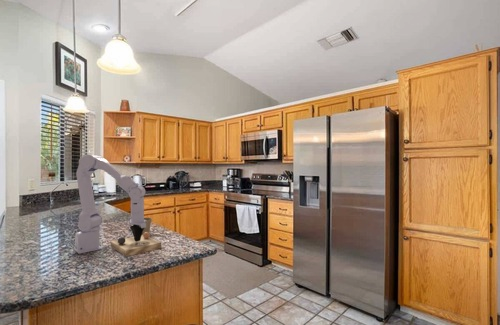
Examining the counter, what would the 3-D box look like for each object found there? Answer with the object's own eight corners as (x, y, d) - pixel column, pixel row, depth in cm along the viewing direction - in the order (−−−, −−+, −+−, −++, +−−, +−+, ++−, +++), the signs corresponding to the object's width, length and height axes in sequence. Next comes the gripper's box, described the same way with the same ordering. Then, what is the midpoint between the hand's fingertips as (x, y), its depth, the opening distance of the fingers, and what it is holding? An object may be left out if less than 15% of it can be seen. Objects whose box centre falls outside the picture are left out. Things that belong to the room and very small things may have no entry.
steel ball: (138, 249, 116) (136, 242, 117) (136, 252, 117) (134, 246, 119) (145, 247, 118) (143, 240, 119) (143, 250, 120) (141, 244, 121)
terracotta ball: (144, 239, 126) (144, 233, 126) (141, 238, 128) (141, 232, 128) (150, 238, 128) (150, 231, 128) (148, 237, 130) (148, 230, 130)
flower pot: (140, 237, 138) (140, 221, 138) (131, 235, 144) (131, 219, 144) (155, 234, 146) (155, 218, 146) (146, 231, 151) (146, 216, 152)
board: (125, 256, 110) (125, 250, 110) (110, 246, 124) (110, 241, 124) (161, 247, 121) (161, 242, 121) (143, 239, 135) (143, 234, 135)
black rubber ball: (119, 245, 116) (119, 238, 117) (116, 244, 119) (116, 237, 119) (126, 244, 119) (126, 237, 119) (124, 242, 121) (124, 235, 121)
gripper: (152, 212, 119) (152, 242, 119) (139, 209, 129) (139, 236, 129) (137, 214, 114) (137, 245, 114) (125, 210, 124) (125, 239, 124)
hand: (137, 240), depth 121 cm, fingers closed
